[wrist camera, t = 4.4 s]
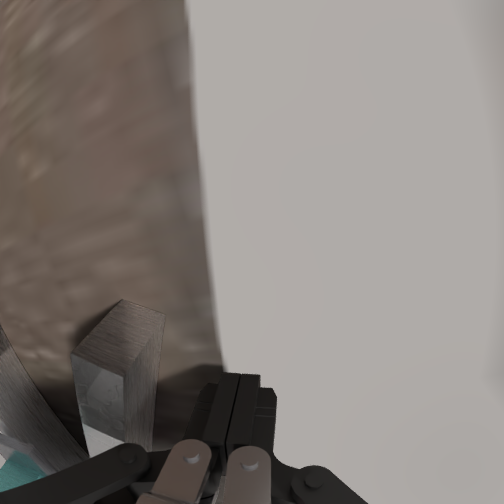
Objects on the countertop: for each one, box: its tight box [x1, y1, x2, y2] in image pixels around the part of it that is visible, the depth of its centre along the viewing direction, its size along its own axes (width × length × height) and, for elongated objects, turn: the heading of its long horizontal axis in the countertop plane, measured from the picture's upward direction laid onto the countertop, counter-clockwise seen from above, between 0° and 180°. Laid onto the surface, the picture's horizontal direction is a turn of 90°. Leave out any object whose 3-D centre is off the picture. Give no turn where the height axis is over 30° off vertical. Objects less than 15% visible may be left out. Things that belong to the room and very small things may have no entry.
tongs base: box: [0, 326, 90, 471], centre depth 14 cm, size 21×5×5 cm, turn 15°
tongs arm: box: [70, 300, 165, 458], centre depth 14 cm, size 18×2×4 cm, turn 165°
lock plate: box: [0, 433, 58, 492], centre depth 11 cm, size 5×6×4 cm
